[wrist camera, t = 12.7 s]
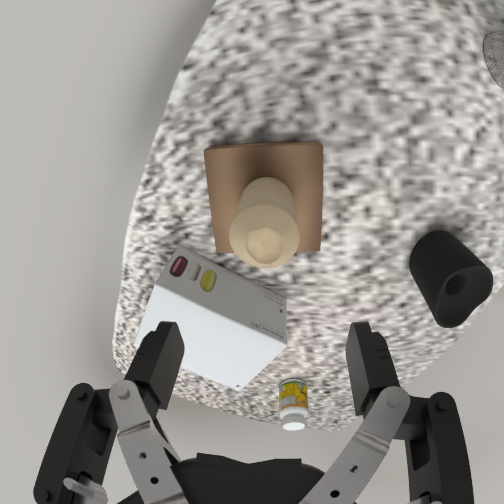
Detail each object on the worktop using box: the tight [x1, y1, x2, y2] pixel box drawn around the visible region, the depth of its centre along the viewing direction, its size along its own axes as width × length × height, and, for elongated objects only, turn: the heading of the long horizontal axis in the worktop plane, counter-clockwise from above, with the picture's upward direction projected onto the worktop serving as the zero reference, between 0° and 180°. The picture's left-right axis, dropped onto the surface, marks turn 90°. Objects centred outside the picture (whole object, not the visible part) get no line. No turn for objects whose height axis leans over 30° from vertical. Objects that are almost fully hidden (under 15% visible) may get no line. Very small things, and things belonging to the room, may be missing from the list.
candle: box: [229, 177, 300, 268], centre depth 25 cm, size 6×6×10 cm
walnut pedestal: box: [204, 142, 323, 253], centre depth 30 cm, size 12×12×3 cm
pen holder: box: [410, 231, 493, 328], centre depth 29 cm, size 9×9×10 cm
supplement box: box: [133, 246, 287, 391], centre depth 37 cm, size 17×13×9 cm
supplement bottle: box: [279, 379, 308, 430], centre depth 46 cm, size 5×5×10 cm
